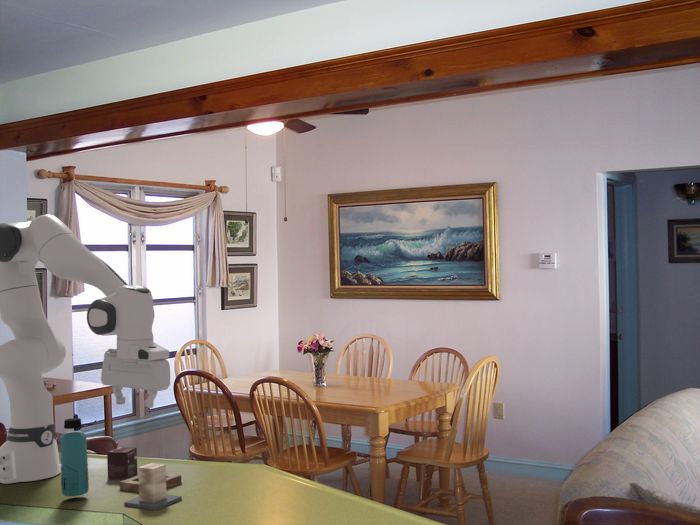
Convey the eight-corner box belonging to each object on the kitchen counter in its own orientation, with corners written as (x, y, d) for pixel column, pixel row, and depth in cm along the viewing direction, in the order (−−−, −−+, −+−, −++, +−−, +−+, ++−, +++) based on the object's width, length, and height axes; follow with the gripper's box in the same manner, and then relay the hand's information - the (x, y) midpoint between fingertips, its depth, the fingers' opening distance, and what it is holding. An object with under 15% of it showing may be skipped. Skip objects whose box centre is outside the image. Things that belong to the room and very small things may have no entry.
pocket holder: (119, 489, 195) (119, 481, 195) (149, 478, 205) (149, 471, 205) (152, 494, 190) (151, 486, 190) (181, 482, 199) (181, 475, 199)
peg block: (139, 500, 181) (138, 467, 182) (152, 495, 185) (151, 463, 186) (153, 502, 179) (152, 469, 179) (166, 497, 183) (165, 464, 183)
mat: (124, 505, 181) (124, 502, 181) (150, 495, 189) (150, 492, 189) (155, 510, 176) (155, 507, 176) (181, 499, 184) (181, 496, 184)
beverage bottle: (95, 496, 189) (92, 416, 190) (75, 504, 183) (72, 421, 184) (75, 494, 192) (73, 415, 193) (55, 501, 186) (52, 420, 187)
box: (127, 479, 205) (126, 452, 205) (107, 479, 206) (106, 452, 206) (138, 473, 211) (137, 447, 211) (118, 473, 212) (117, 447, 212)
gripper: (95, 349, 190) (94, 404, 190) (156, 354, 180) (156, 411, 180) (114, 346, 196) (113, 400, 196) (174, 351, 186) (174, 407, 186)
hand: (134, 405), depth 188 cm, fingers open, 8 cm apart
